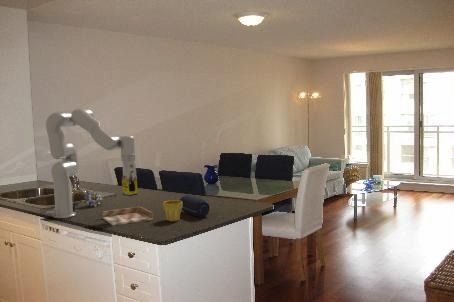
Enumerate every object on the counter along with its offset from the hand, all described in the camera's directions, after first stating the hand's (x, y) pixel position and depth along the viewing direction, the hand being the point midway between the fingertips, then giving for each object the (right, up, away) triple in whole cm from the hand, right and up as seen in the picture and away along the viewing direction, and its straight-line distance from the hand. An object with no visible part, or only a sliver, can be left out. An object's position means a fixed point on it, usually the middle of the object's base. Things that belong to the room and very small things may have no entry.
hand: (129, 189), depth 248 cm
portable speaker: (+35, -15, +6) cm, 39 cm away
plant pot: (+25, -16, -6) cm, 30 cm away
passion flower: (-32, -14, +39) cm, 52 cm away
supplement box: (0, -3, 0) cm, 3 cm away
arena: (-1, -16, -1) cm, 16 cm away
